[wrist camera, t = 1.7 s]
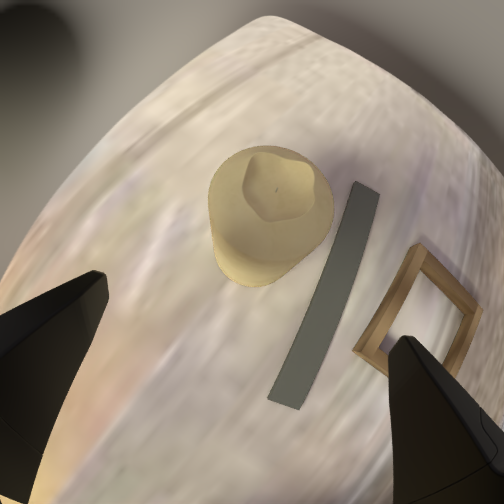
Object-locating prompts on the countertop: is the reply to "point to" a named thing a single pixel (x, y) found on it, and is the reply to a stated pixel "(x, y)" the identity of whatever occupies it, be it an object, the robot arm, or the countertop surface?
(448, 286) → the keeper frame
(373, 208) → the strip
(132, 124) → the countertop surface
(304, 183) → the candle
